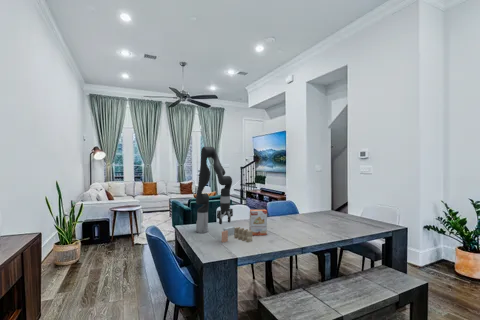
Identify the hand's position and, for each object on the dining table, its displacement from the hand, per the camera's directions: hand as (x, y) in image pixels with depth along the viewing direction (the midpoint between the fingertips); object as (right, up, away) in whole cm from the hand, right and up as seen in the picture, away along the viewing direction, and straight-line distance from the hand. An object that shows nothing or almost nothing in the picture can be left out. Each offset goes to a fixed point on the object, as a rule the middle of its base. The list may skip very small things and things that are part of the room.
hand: (224, 223), depth 191 cm
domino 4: (+16, -14, +4) cm, 22 cm away
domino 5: (+19, -14, +1) cm, 24 cm away
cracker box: (+27, -15, +20) cm, 36 cm away
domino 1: (0, -14, 0) cm, 14 cm away
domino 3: (+12, -14, +7) cm, 20 cm away
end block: (+2, -14, +17) cm, 23 cm away
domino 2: (+9, -14, +11) cm, 20 cm away
